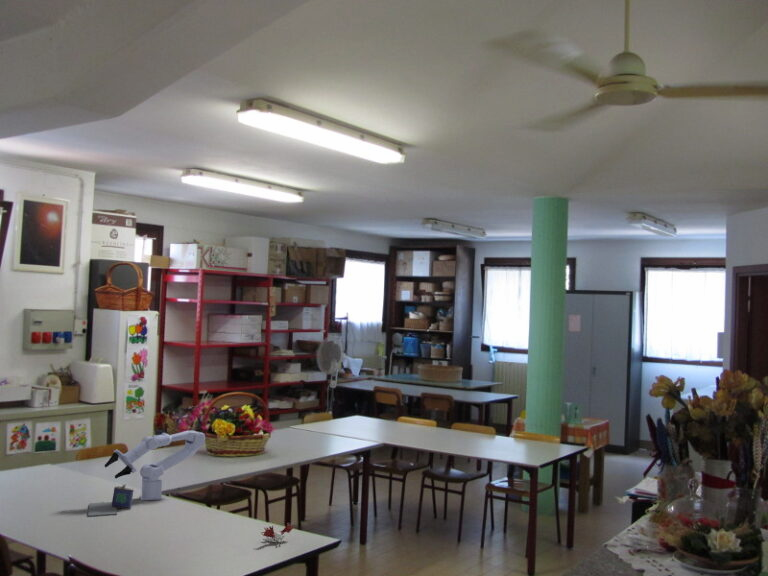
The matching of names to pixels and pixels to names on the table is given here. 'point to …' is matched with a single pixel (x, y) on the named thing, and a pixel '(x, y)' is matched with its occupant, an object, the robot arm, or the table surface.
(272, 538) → the figurine
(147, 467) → the robot arm
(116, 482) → the table surface
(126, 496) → the clover print pouch
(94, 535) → the table surface
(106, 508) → the mat
